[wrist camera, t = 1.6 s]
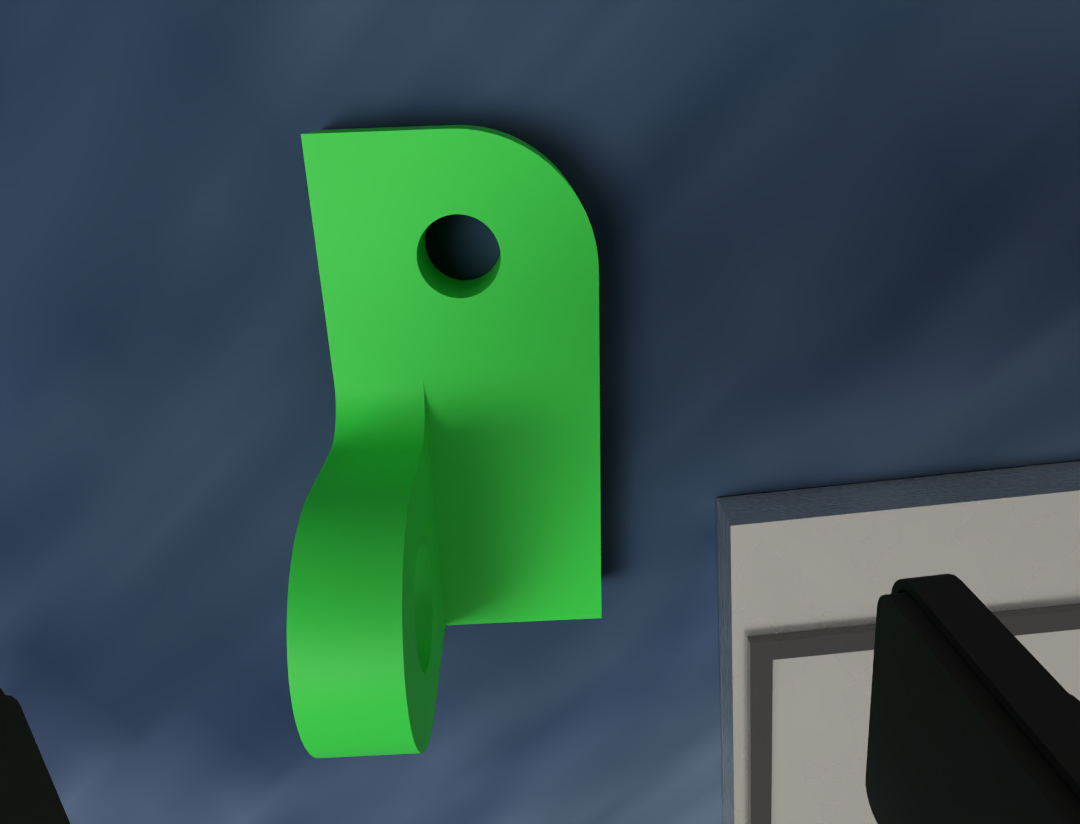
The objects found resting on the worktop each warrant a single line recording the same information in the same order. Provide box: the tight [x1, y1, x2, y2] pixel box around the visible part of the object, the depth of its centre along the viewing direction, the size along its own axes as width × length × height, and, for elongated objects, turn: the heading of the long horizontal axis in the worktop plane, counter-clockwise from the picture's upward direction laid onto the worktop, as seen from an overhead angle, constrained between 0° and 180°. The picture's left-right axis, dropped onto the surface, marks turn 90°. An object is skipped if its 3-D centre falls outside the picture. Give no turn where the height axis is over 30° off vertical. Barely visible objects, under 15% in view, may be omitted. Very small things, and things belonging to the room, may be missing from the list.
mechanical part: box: [287, 125, 601, 758], centre depth 17 cm, size 12×6×8 cm, turn 2°
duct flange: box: [717, 461, 1080, 824], centre depth 24 cm, size 16×16×2 cm
